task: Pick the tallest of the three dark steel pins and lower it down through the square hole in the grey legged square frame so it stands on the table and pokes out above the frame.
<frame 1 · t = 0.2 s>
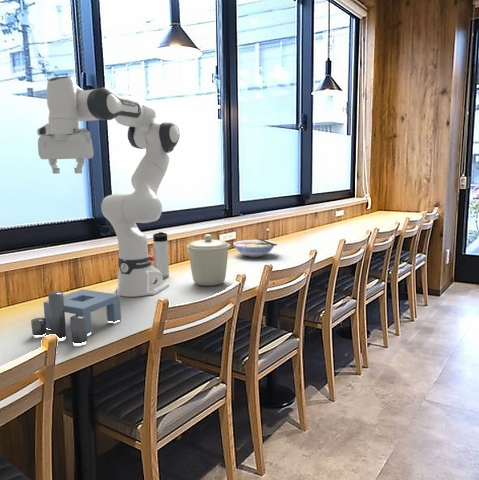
hand: (67, 173, 150), 48 cm above the counter, tool pointing down, fingers open, 8 cm apart
grey legged square frame: (84, 325, 147), on the counter
travel mug: (162, 277, 210), on the counter
tall steel pin: (59, 339, 136), on the counter
short steel pin: (39, 335, 139), on the counter
ramen bowl: (254, 256, 254), on the counter
canister: (209, 283, 198), on the counter
medium steel pin: (79, 344, 132), on the counter
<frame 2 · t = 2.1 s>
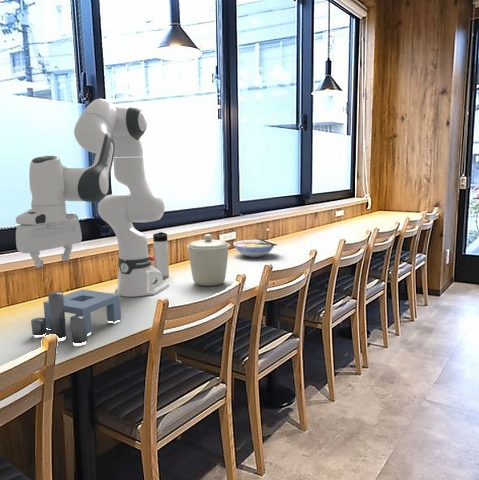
hand: (53, 263, 132), 23 cm above the counter, tool pointing down, fingers open, 8 cm apart
nothing on the counter moved.
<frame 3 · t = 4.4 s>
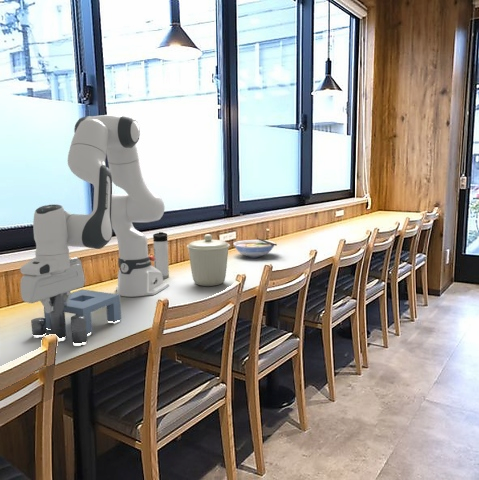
hand: (56, 309, 134), 9 cm above the counter, tool pointing down, fingers closed on tall steel pin, 4 cm apart
tall steel pin: (59, 339, 136), on the counter, touching gripper
everything else where it was.
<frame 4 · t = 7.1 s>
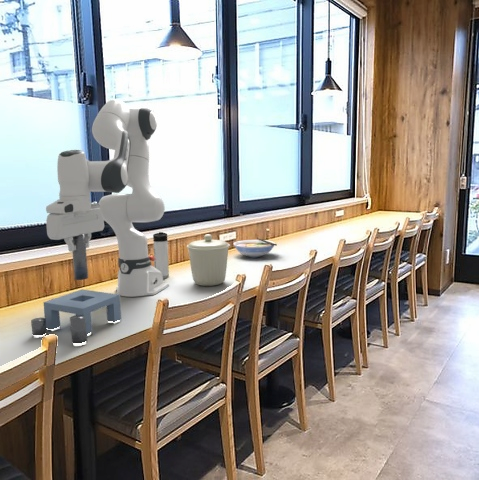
hand: (79, 249, 143), 25 cm above the counter, tool pointing down, fingers closed on tall steel pin, 4 cm apart
tall steel pin: (81, 278, 145), point 15 cm above the counter, touching gripper
everything else where it was.
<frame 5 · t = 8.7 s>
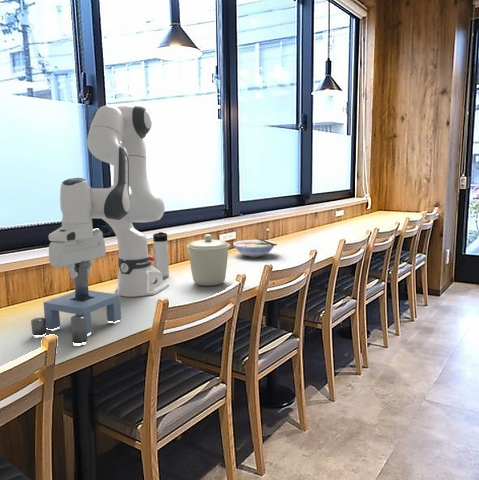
hand: (80, 276, 145), 16 cm above the counter, tool pointing down, fingers closed on tall steel pin, 4 cm apart
tall steel pin: (82, 304, 146), point 7 cm above the counter, touching gripper
everything else where it was.
when the fingers open (12 cm above the counter, at t = 10.0 s): tall steel pin drops 2 cm, on the counter.
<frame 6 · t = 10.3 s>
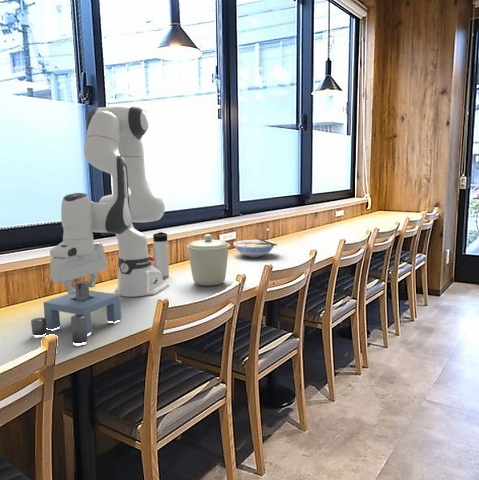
hand: (81, 290, 145), 12 cm above the counter, tool pointing down, fingers open, 7 cm apart
tall steel pin: (84, 325, 147), on the counter
everything else where it was.
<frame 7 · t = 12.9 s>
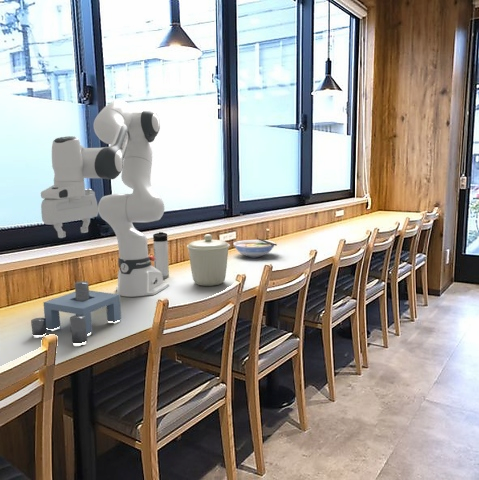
hand: (73, 234, 146), 29 cm above the counter, tool pointing down, fingers open, 8 cm apart
nothing on the counter moved.
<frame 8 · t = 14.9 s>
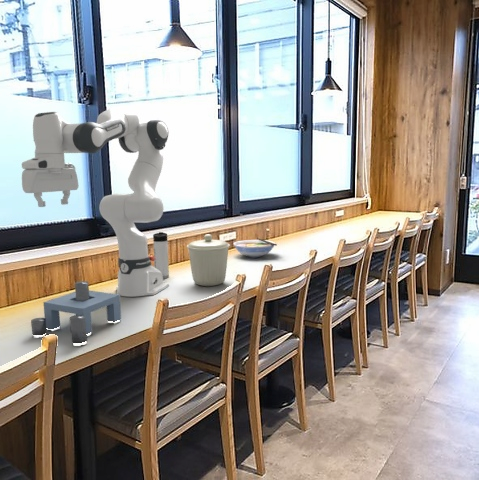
hand: (53, 205, 154), 37 cm above the counter, tool pointing down, fingers open, 8 cm apart
nothing on the counter moved.
at the end: tall steel pin 0.1 cm off-centre on the grey legged square frame, point 0.0 cm above the grey legged square frame's base; tall steel pin tilted 0°; the gripper is holding nothing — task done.
